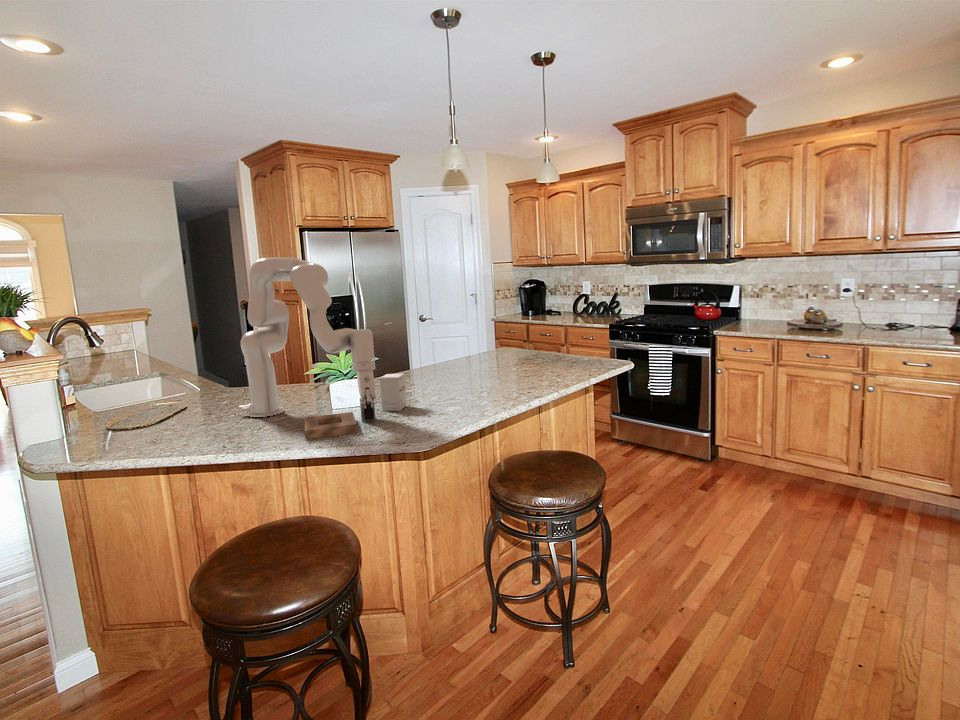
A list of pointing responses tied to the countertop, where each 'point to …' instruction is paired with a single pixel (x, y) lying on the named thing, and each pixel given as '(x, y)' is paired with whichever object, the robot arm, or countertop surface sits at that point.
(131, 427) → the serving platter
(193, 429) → the countertop surface
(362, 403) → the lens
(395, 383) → the supplement box
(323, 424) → the wooden slotted base
